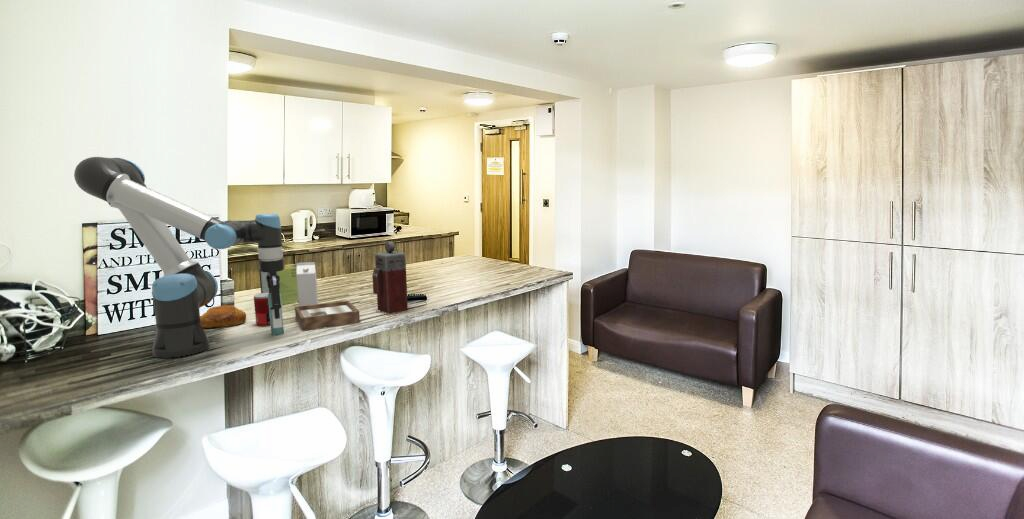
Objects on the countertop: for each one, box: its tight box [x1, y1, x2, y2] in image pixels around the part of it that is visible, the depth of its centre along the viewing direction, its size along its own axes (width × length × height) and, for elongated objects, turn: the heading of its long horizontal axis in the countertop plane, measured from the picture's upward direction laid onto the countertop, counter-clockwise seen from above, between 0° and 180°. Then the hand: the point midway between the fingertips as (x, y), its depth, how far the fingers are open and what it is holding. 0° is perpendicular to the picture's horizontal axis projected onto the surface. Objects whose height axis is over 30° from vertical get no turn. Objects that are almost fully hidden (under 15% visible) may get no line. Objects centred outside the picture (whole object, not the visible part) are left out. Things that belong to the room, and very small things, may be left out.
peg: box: [268, 293, 285, 336], centre depth 182 cm, size 4×4×14 cm
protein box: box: [258, 263, 299, 306], centre depth 230 cm, size 10×15×16 cm
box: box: [294, 300, 361, 331], centre depth 199 cm, size 20×20×4 cm
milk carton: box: [296, 261, 319, 306], centre depth 219 cm, size 7×7×19 cm
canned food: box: [253, 292, 271, 327], centre depth 195 cm, size 8×8×11 cm
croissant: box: [200, 304, 247, 329], centre depth 197 cm, size 14×16×8 cm
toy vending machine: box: [372, 241, 409, 314], centre depth 211 cm, size 9×11×28 cm
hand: (276, 324), depth 182 cm, fingers open, 8 cm apart
